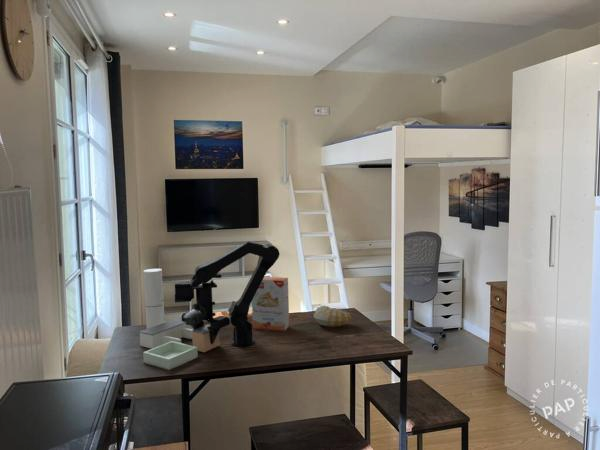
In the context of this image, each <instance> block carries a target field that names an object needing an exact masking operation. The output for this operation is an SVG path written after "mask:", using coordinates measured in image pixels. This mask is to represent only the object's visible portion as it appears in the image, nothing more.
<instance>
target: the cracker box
mask: <svg viewBox="0 0 600 450" xmlns="http://www.w3.org/2000/svg"><path fill="white" fill-rule="evenodd" d="M289 299H290V298H289V277H281V276H280V277H279V276H277V277H276V276H264V278H263V280H262V282H261V284H260V286H259V288H258V290H257V292H256V294H255V296H254V298H253V300H252V302H251V309H252V310H251V311H252V315H251V316H252V330H253V329H254V330H255V329H257V330H267V331H269V330H270V331H279V332H285V331H286V330H288V328H289V327H290V304H289Z"/></svg>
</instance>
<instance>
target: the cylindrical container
mask: <svg viewBox="0 0 600 450" xmlns="http://www.w3.org/2000/svg"><path fill="white" fill-rule="evenodd" d="M163 282H164V281H163V269H162V268H148V269H144V270H143V286H144V287H143V288H144V303H145V321H146V322H145V323H146V329H148V328H151V327H154V326H157V325H160V324H163V323H165V322H166V319H165V301H164V285H163Z"/></svg>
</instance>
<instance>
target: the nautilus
mask: <svg viewBox="0 0 600 450" xmlns="http://www.w3.org/2000/svg"><path fill="white" fill-rule="evenodd" d="M313 318H314V320H315V321H316V323H317V324H319V325H321V326H325V327H329V328H335V327H340V326H345V325H347V324H349V323H350V322H351V321H352V318H353V317H352V315H351V314H350V313H349V312H346V311H345V310H343V309H341V308H338V307H337V308H336V307H333V308H332V307H330V306H327V305H321V304H318V306H317V308H316V309H315V311H314V313H313Z"/></svg>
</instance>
